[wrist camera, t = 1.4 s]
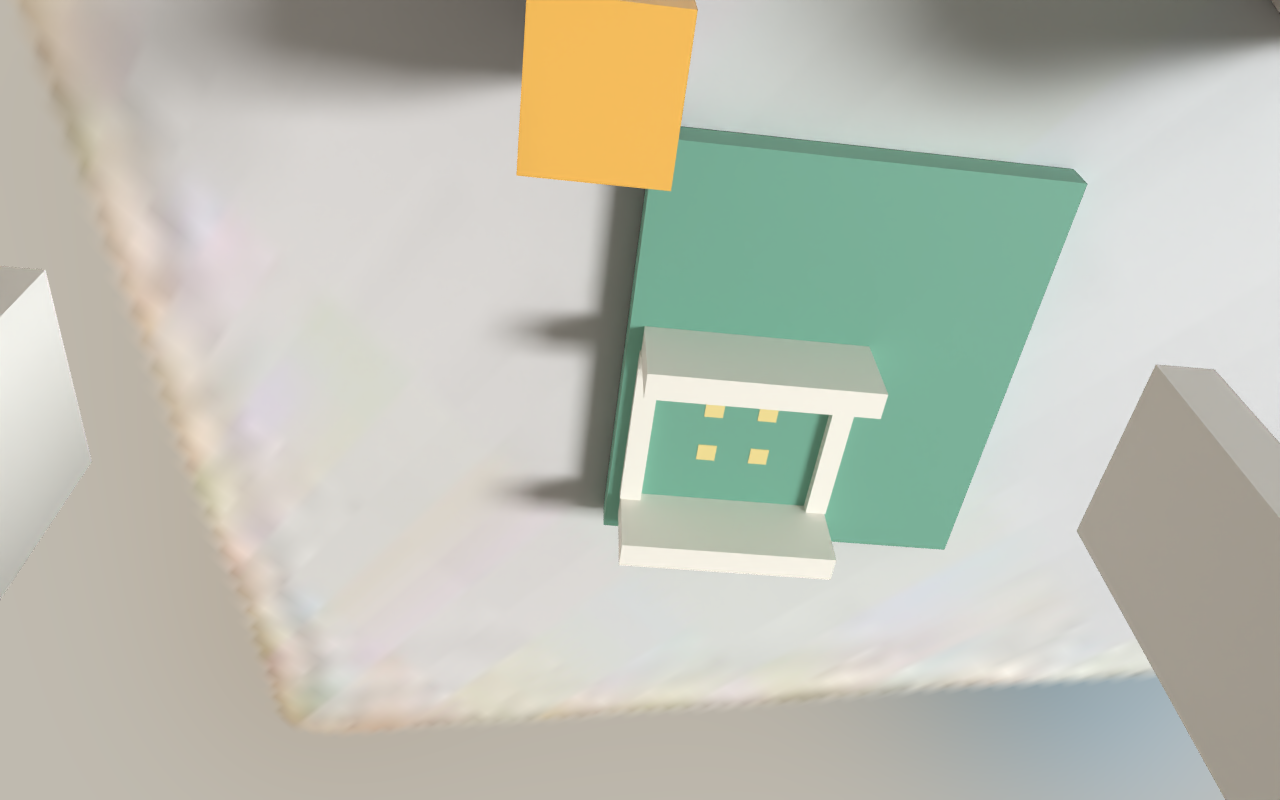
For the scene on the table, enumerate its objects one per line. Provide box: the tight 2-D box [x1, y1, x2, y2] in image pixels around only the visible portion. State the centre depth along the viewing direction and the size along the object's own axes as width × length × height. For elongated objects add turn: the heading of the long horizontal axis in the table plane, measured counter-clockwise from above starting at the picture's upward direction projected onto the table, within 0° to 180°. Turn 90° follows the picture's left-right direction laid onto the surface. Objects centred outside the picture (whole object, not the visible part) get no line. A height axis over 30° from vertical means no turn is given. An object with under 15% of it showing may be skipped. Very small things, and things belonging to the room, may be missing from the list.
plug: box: [517, 0, 698, 191], centre depth 26 cm, size 5×4×10 cm
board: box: [604, 127, 1087, 580], centre depth 36 cm, size 16×14×4 cm
